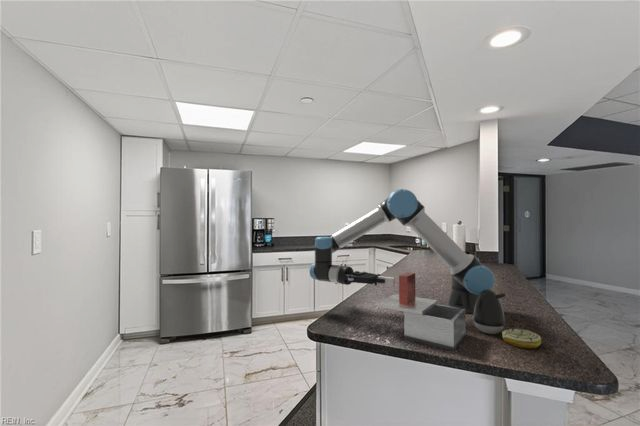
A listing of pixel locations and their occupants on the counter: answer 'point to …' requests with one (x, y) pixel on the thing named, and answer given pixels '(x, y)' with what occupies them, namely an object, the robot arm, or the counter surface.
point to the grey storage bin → (437, 326)
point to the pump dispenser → (489, 312)
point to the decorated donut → (521, 338)
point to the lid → (407, 297)
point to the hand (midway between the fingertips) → (393, 281)
